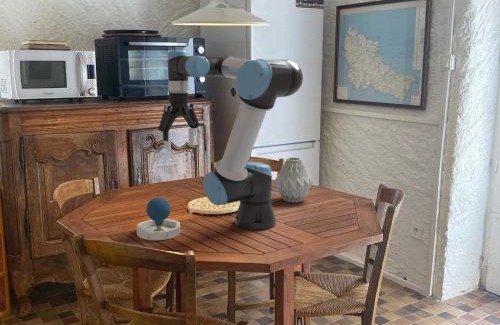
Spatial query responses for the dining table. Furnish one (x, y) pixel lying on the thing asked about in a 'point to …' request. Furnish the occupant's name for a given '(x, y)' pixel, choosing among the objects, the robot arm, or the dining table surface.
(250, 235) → the dining table surface
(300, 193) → the vase
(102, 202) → the dining table surface
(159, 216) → the light bulb
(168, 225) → the lamp base
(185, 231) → the dining table surface
